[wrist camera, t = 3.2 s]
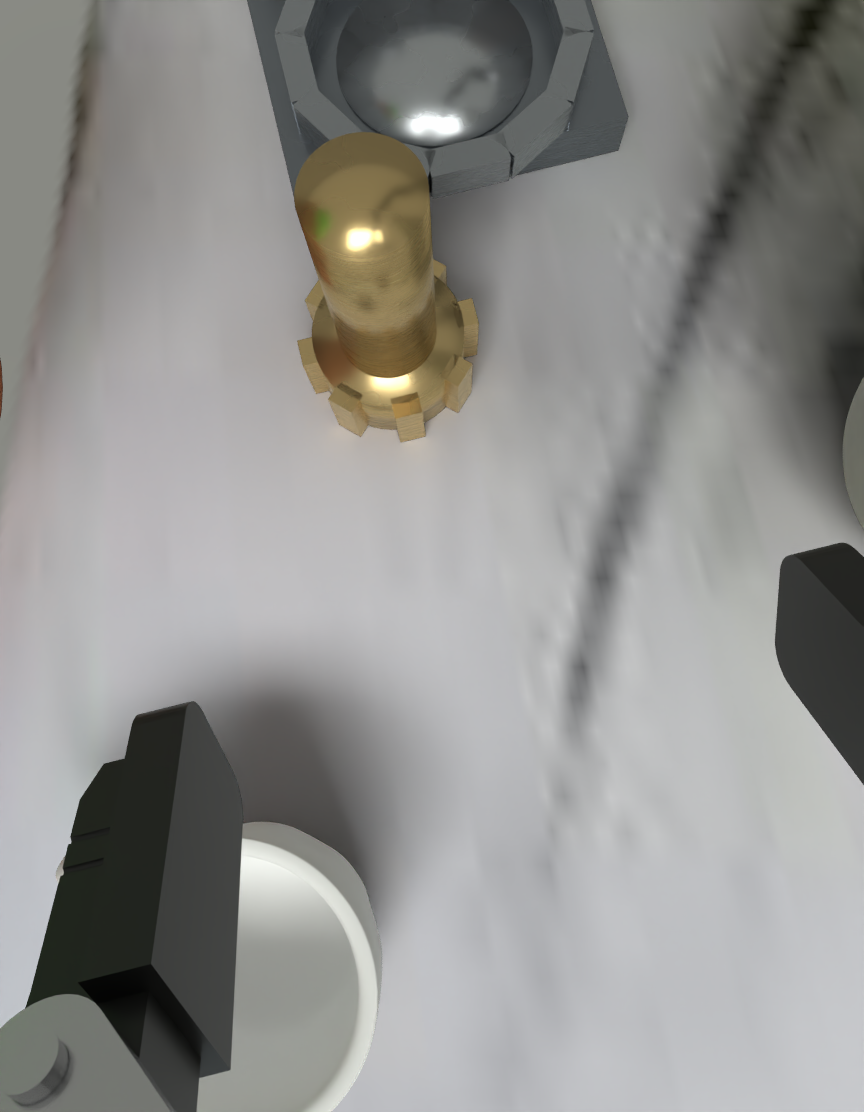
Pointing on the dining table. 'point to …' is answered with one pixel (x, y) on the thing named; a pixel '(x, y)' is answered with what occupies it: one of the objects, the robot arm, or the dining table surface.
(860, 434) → the white rounded cylinder
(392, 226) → the gear
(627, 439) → the dining table surface
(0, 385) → the potted cactus
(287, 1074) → the teacup
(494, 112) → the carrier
